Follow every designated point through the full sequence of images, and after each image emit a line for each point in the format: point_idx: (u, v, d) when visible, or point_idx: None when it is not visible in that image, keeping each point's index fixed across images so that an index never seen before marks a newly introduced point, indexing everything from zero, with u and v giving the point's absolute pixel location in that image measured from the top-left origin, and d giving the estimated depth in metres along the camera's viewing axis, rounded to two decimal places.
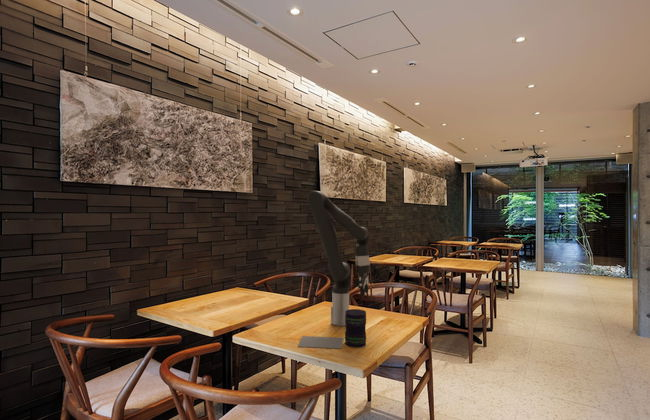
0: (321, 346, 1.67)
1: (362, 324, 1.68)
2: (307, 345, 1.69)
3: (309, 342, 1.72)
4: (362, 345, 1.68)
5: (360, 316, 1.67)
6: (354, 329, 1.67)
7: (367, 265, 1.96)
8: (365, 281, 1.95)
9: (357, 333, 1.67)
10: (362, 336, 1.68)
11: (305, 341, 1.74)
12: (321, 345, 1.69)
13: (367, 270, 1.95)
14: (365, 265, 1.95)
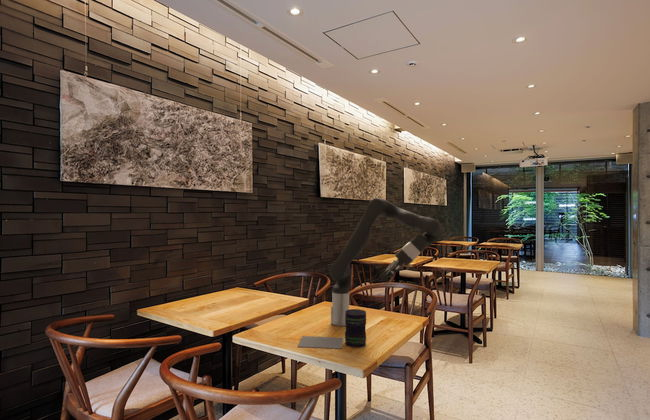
0: (321, 346, 1.67)
1: (362, 324, 1.68)
2: (307, 345, 1.69)
3: (309, 342, 1.72)
4: (362, 345, 1.68)
5: (360, 316, 1.67)
6: (354, 329, 1.67)
7: (412, 260, 1.67)
8: None
9: (357, 333, 1.67)
10: (362, 336, 1.68)
11: (305, 341, 1.74)
12: (321, 345, 1.69)
13: (408, 264, 1.67)
14: (411, 259, 1.67)
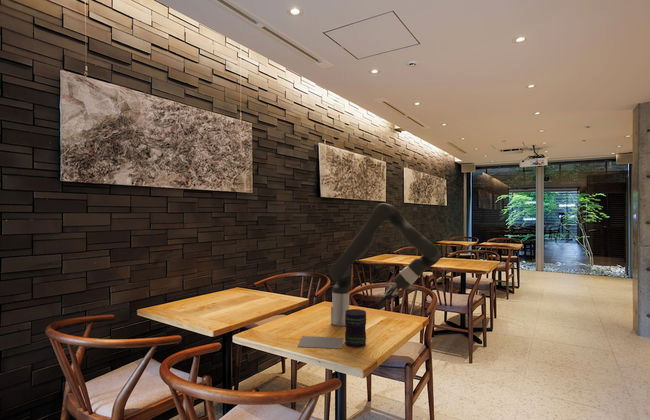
0: (321, 346, 1.67)
1: (362, 324, 1.68)
2: (307, 345, 1.69)
3: (309, 342, 1.72)
4: (362, 345, 1.68)
5: (360, 316, 1.67)
6: (354, 329, 1.67)
7: (410, 284, 1.68)
8: None
9: (357, 333, 1.67)
10: (362, 336, 1.68)
11: (305, 341, 1.74)
12: (321, 345, 1.69)
13: (406, 288, 1.68)
14: (409, 283, 1.67)
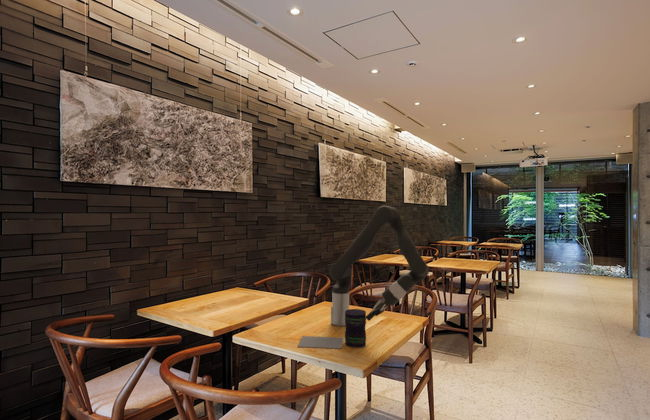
0: (321, 346, 1.67)
1: (362, 324, 1.68)
2: (307, 345, 1.69)
3: (309, 342, 1.72)
4: (362, 345, 1.68)
5: (360, 316, 1.67)
6: (354, 329, 1.67)
7: (398, 300, 1.68)
8: None
9: (357, 333, 1.67)
10: (362, 336, 1.68)
11: (305, 341, 1.74)
12: (321, 345, 1.69)
13: (394, 304, 1.68)
14: (397, 299, 1.67)
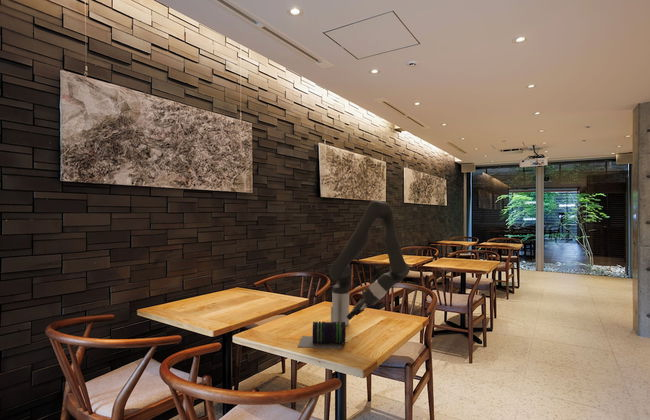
0: (321, 346, 1.67)
1: (322, 329, 1.68)
2: (307, 345, 1.69)
3: (309, 342, 1.72)
4: (343, 328, 1.68)
5: (314, 331, 1.68)
6: (327, 337, 1.67)
7: (378, 299, 1.69)
8: None
9: (331, 334, 1.67)
10: (334, 329, 1.68)
11: (305, 341, 1.74)
12: (321, 345, 1.69)
13: (374, 303, 1.69)
14: (377, 298, 1.68)
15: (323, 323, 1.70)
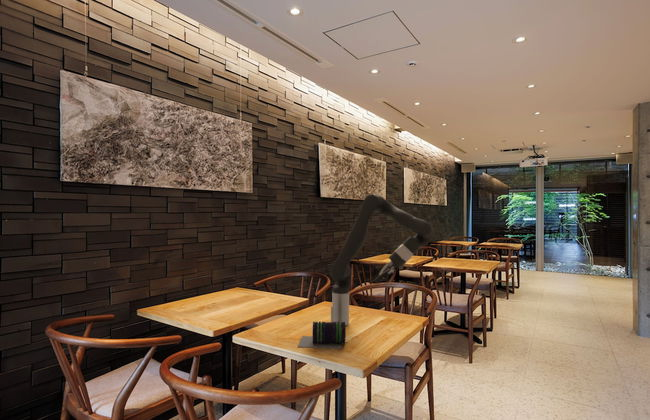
0: (321, 346, 1.67)
1: (322, 329, 1.68)
2: (307, 345, 1.69)
3: (309, 342, 1.72)
4: (343, 328, 1.68)
5: (314, 331, 1.68)
6: (327, 337, 1.67)
7: (405, 262, 1.72)
8: None
9: (331, 334, 1.67)
10: (334, 329, 1.68)
11: (305, 341, 1.74)
12: (321, 345, 1.69)
13: (401, 266, 1.72)
14: (405, 261, 1.71)
15: (323, 323, 1.70)
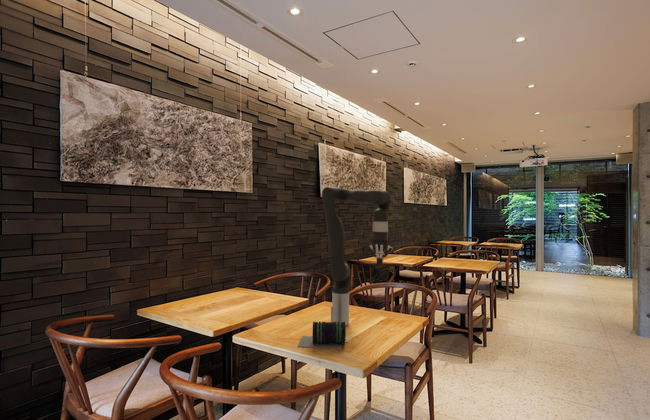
0: (321, 346, 1.67)
1: (322, 329, 1.68)
2: (307, 345, 1.69)
3: (309, 342, 1.72)
4: (343, 328, 1.68)
5: (314, 331, 1.68)
6: (327, 337, 1.67)
7: None
8: None
9: (331, 334, 1.67)
10: (334, 329, 1.68)
11: (305, 341, 1.74)
12: (321, 345, 1.69)
13: None
14: None
15: (323, 323, 1.70)
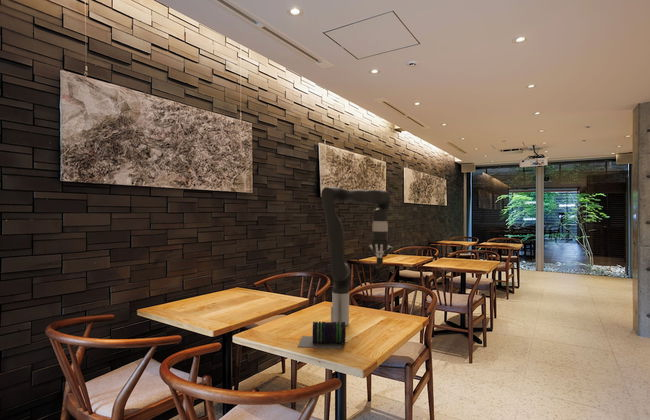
0: (321, 346, 1.67)
1: (322, 329, 1.68)
2: (307, 345, 1.69)
3: (309, 342, 1.72)
4: (343, 328, 1.68)
5: (314, 331, 1.68)
6: (327, 337, 1.67)
7: None
8: None
9: (331, 334, 1.67)
10: (334, 329, 1.68)
11: (305, 341, 1.74)
12: (321, 345, 1.69)
13: None
14: None
15: (323, 323, 1.70)
